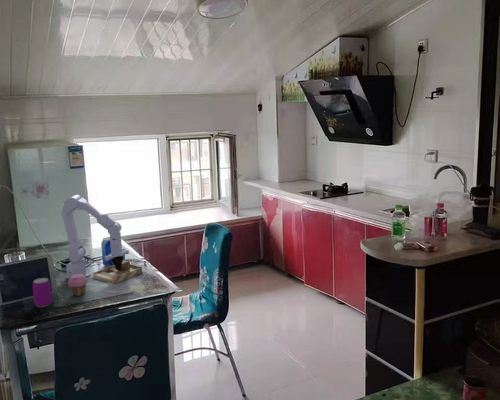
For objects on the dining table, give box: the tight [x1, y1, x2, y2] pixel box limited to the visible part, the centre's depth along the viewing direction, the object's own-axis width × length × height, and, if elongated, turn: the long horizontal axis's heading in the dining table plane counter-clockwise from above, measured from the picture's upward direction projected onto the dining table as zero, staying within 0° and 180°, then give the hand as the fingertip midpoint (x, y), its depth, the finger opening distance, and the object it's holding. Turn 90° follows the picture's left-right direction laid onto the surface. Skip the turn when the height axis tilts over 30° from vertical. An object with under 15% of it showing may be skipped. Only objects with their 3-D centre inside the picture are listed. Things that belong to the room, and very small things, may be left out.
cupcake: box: [67, 274, 88, 297], centre depth 244 cm, size 9×9×10 cm
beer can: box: [101, 236, 114, 268], centre depth 286 cm, size 8×8×16 cm
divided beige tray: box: [92, 263, 143, 285], centre depth 270 cm, size 20×16×4 cm
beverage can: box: [32, 277, 53, 308], centre depth 232 cm, size 8×8×12 cm
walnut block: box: [119, 259, 131, 272], centre depth 273 cm, size 4×4×4 cm
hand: (118, 269), depth 270 cm, fingers closed
